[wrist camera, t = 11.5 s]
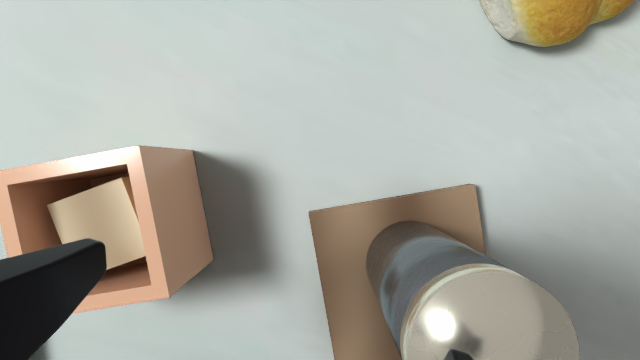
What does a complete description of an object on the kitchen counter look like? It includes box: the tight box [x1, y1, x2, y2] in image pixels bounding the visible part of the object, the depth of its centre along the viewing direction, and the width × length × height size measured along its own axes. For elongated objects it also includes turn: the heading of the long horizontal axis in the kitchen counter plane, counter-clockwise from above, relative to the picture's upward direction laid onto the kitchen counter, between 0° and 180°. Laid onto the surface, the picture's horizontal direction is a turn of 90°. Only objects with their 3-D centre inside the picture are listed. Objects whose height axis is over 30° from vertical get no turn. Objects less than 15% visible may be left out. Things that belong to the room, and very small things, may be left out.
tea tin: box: [366, 220, 579, 360], centre depth 15 cm, size 5×5×10 cm
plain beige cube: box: [47, 177, 146, 270], centre depth 19 cm, size 4×4×4 cm
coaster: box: [309, 184, 486, 360], centre depth 21 cm, size 10×10×1 cm
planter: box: [0, 146, 214, 314], centre depth 18 cm, size 7×7×6 cm
